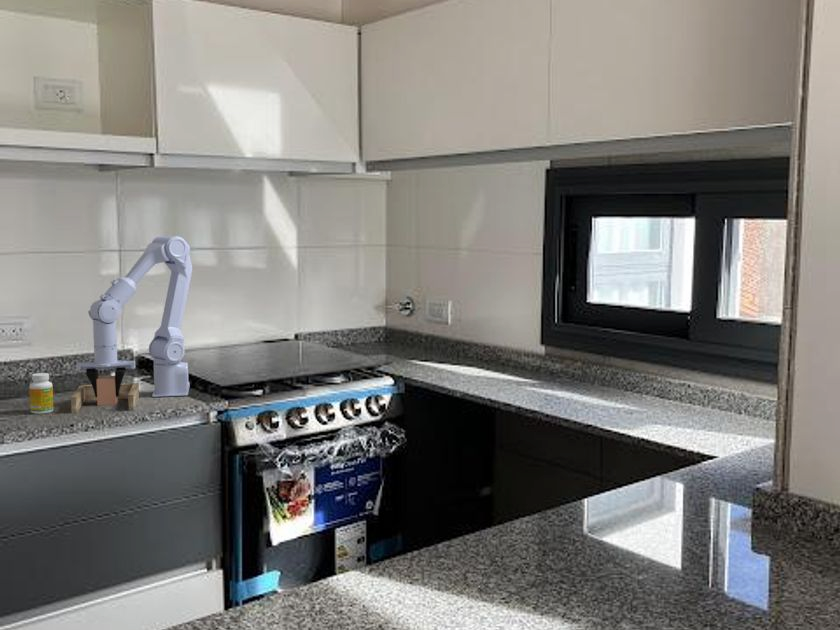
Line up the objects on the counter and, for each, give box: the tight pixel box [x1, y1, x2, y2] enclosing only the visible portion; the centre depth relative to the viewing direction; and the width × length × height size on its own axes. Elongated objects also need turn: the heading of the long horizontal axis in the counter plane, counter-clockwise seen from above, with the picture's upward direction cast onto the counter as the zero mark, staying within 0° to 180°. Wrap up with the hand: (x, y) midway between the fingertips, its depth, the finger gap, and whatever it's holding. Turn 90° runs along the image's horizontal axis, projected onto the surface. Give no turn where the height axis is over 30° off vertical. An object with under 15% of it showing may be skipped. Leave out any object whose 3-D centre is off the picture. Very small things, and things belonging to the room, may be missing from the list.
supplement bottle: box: [28, 372, 54, 415], centre depth 221 cm, size 5×5×10 cm
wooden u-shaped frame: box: [70, 382, 140, 414], centre depth 230 cm, size 15×16×4 cm
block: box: [96, 375, 118, 406], centre depth 231 cm, size 4×4×7 cm
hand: (107, 396), depth 232 cm, fingers closed on block, 4 cm apart
